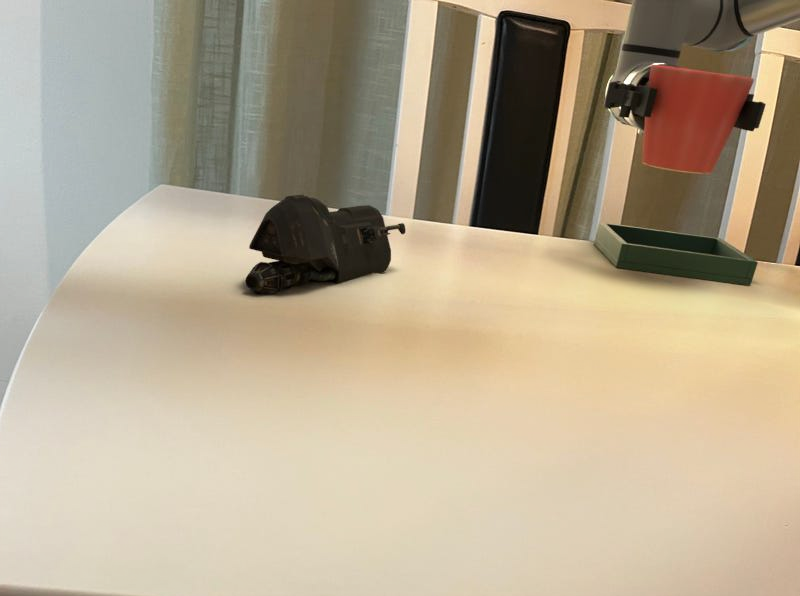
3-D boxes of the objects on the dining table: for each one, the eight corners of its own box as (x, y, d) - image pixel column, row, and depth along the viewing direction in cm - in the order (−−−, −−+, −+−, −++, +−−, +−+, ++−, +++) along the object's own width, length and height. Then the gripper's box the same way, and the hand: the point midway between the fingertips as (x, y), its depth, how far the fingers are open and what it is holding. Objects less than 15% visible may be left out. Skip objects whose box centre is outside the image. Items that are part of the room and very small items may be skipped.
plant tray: (714, 260, 137) (720, 238, 135) (750, 285, 123) (758, 262, 121) (593, 243, 137) (599, 221, 135) (615, 267, 123) (622, 243, 121)
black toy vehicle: (399, 277, 106) (412, 194, 102) (284, 307, 86) (294, 205, 82) (342, 264, 108) (352, 182, 104) (216, 290, 89) (224, 191, 84)
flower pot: (740, 180, 109) (770, 78, 104) (640, 168, 108) (666, 65, 103) (709, 169, 118) (736, 74, 113) (617, 158, 117) (640, 62, 112)
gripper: (736, 143, 127) (796, 162, 108) (557, 119, 127) (586, 134, 108) (756, 76, 123) (822, 84, 105) (572, 51, 123) (604, 54, 104)
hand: (702, 109), depth 106 cm, fingers closed on flower pot, 10 cm apart
